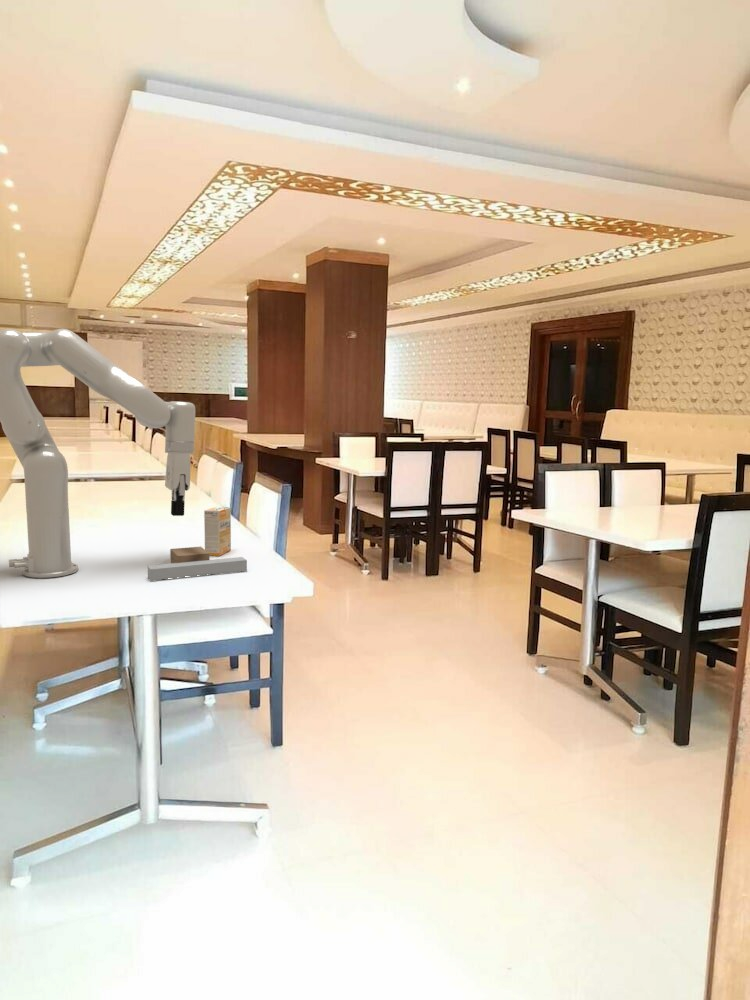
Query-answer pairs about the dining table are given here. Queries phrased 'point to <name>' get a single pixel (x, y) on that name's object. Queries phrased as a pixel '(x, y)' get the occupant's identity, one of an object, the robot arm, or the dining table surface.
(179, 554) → the walnut block
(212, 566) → the grey board
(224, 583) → the dining table surface
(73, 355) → the robot arm
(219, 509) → the supplement box
